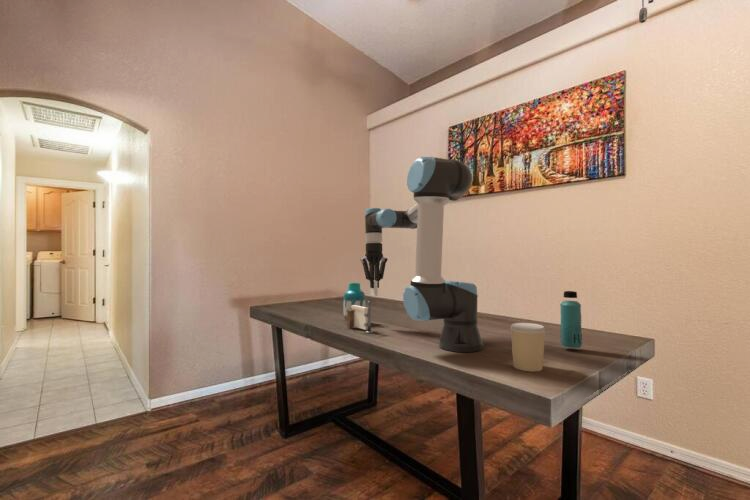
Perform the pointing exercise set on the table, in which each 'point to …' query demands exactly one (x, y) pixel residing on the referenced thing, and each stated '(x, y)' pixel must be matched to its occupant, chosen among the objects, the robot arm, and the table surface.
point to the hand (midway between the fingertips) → (374, 295)
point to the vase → (353, 298)
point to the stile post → (350, 319)
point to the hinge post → (369, 318)
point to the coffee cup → (527, 346)
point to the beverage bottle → (571, 322)
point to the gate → (360, 317)
